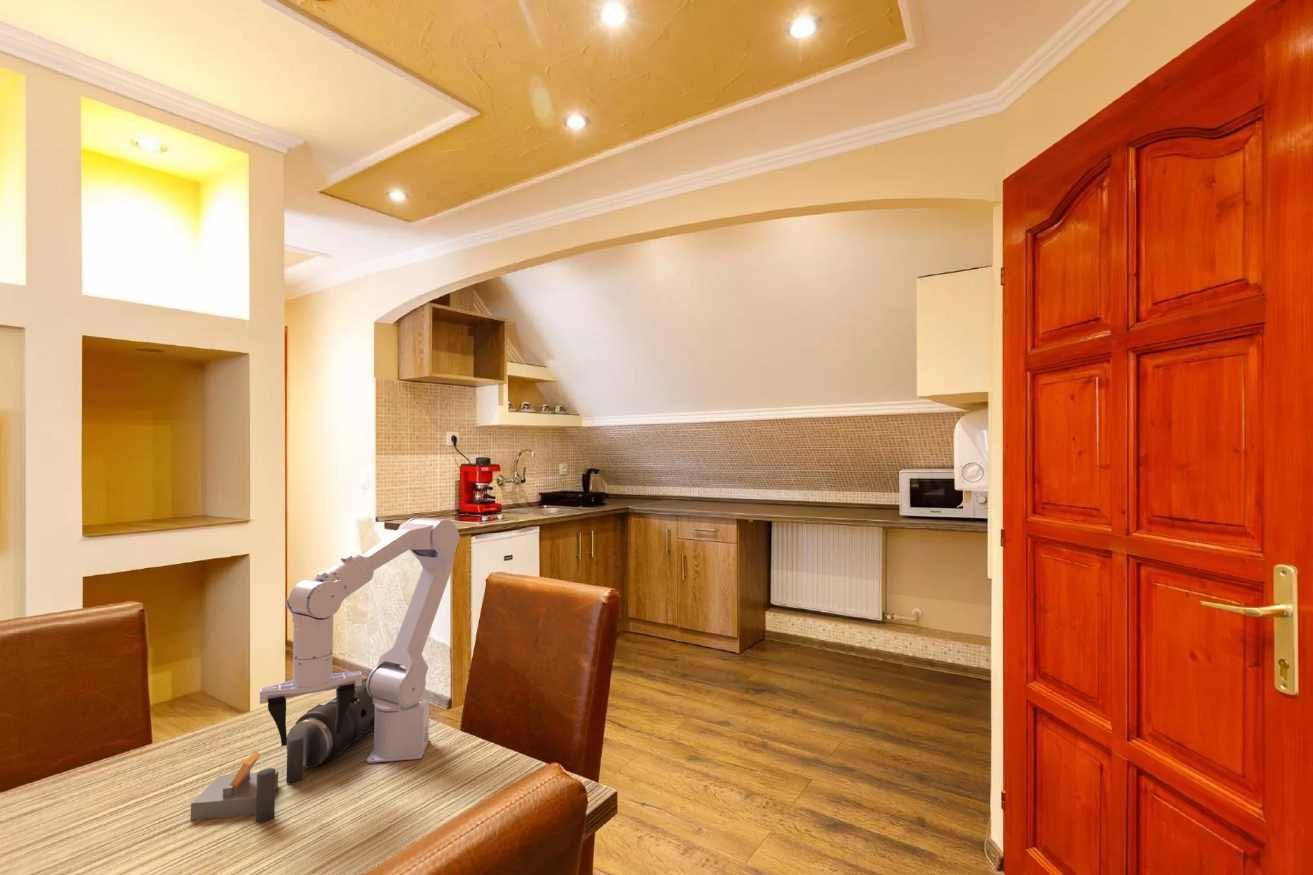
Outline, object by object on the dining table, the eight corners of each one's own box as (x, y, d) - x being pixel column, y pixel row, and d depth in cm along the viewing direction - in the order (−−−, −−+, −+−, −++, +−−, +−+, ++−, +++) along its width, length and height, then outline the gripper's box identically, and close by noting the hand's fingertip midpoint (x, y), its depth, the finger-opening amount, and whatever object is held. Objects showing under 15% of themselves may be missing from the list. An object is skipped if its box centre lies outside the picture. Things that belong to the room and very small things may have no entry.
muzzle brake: (365, 692, 134) (403, 715, 133) (269, 752, 106) (316, 782, 105) (383, 654, 134) (422, 677, 133) (292, 704, 106) (340, 734, 105)
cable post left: (277, 812, 94) (278, 767, 94) (270, 822, 91) (271, 775, 92) (260, 814, 93) (261, 768, 94) (252, 823, 91) (253, 777, 91)
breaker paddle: (245, 778, 99) (260, 753, 99) (233, 790, 95) (249, 765, 95) (239, 775, 98) (255, 750, 99) (227, 788, 95) (243, 762, 95)
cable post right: (304, 775, 105) (305, 735, 105) (299, 783, 102) (300, 741, 102) (289, 777, 104) (290, 736, 104) (283, 784, 102) (284, 742, 102)
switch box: (277, 785, 101) (278, 763, 101) (255, 813, 93) (256, 789, 94) (218, 791, 100) (219, 767, 100) (190, 819, 92) (191, 794, 92)
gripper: (358, 640, 107) (357, 717, 106) (261, 654, 99) (259, 738, 98) (363, 651, 101) (362, 733, 100) (260, 667, 93) (258, 756, 92)
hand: (311, 737), depth 99 cm, fingers open, 7 cm apart
